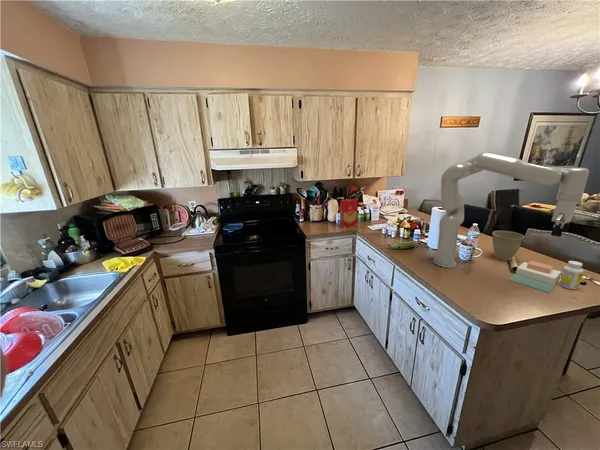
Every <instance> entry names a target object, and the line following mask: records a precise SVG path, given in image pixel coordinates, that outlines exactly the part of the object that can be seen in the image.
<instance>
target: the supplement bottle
mask: <svg viewBox="0 0 600 450" xmlns="http://www.w3.org/2000/svg"><path fill="white" fill-rule="evenodd" d="M582 267H583V263H582V262H580V261H576V260H575V261H574V260H568V262H567V265H565V266H563V268H562V271H561V274H560V278H559V285H560V286H561V287H563V288H565V289H569V290H578V289H579V287H580V286H581V282H582V278H583V275H584V269H583V268H582Z"/></svg>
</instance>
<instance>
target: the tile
mask: <svg viewBox="0 0 600 450" xmlns="http://www.w3.org/2000/svg"><path fill="white" fill-rule="evenodd" d="M527 263H528V264H527V268H529V269H533V270H536V271H540V272H544V273H547V274H550V273H551V272H552V270H554V266H553V265H550V264H548V263H547V264H546V263H542V262H538V261H535V260H530V261H528V262H527Z"/></svg>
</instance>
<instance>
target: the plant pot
mask: <svg viewBox="0 0 600 450" xmlns="http://www.w3.org/2000/svg"><path fill="white" fill-rule="evenodd" d="M524 240H525V236H524V235H523V234H521V233H518V232H515V231H510V230H509V231H508V230H495V231H492V246H493V253H494V256H495V258H496V259H497V260H499V261H505V262H508V260H509V259H510V258H512V257H513V258H514V257H515V255H516V254H517V252H518V251H519V250H520V247H521V245H522V243H523V241H524ZM513 258H512V259H513Z"/></svg>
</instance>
